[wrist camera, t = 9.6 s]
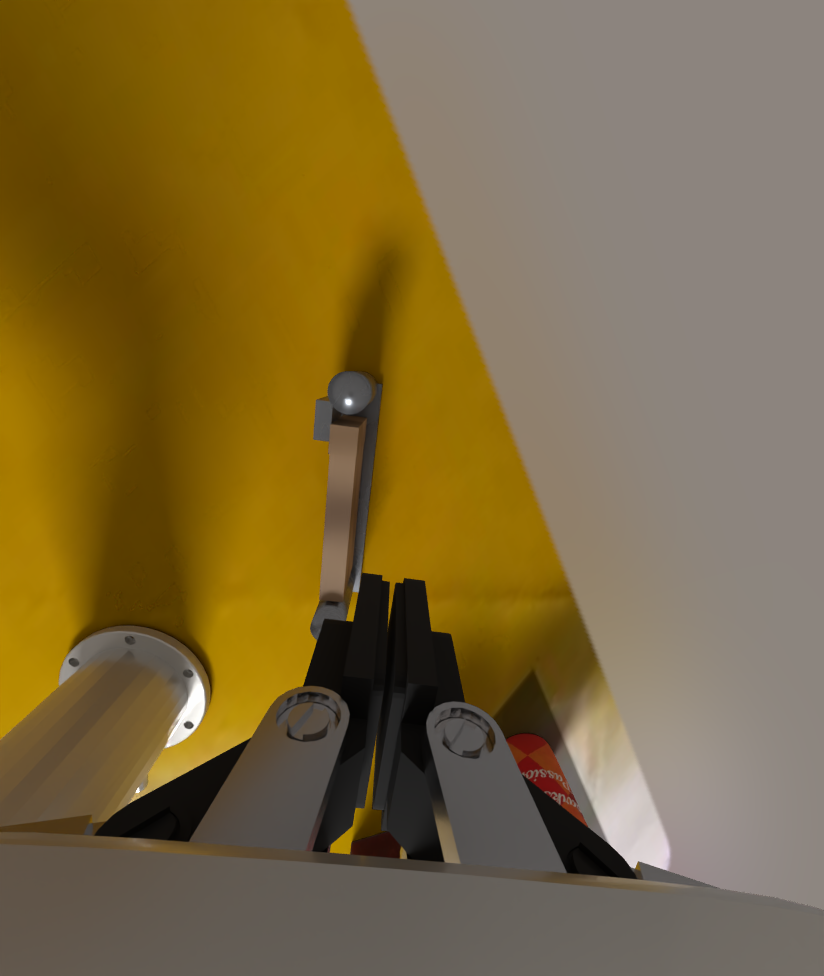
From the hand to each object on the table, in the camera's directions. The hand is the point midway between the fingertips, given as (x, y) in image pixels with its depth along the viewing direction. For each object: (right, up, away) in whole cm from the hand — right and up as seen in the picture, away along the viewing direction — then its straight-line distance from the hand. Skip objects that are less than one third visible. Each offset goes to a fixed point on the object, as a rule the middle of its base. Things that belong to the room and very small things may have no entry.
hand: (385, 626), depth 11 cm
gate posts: (-4, +4, +22) cm, 23 cm away
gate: (-4, +3, +21) cm, 22 cm away
